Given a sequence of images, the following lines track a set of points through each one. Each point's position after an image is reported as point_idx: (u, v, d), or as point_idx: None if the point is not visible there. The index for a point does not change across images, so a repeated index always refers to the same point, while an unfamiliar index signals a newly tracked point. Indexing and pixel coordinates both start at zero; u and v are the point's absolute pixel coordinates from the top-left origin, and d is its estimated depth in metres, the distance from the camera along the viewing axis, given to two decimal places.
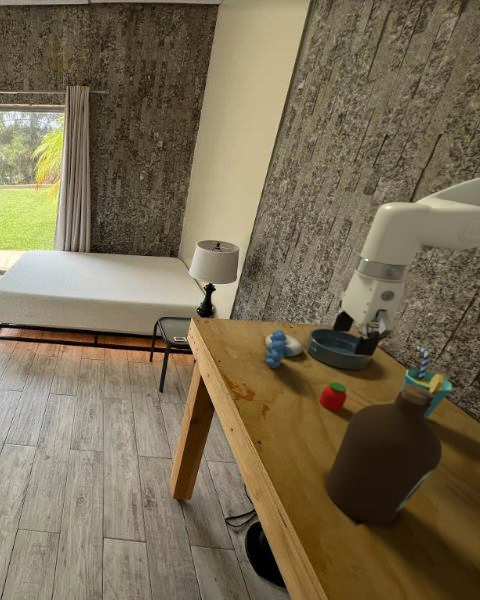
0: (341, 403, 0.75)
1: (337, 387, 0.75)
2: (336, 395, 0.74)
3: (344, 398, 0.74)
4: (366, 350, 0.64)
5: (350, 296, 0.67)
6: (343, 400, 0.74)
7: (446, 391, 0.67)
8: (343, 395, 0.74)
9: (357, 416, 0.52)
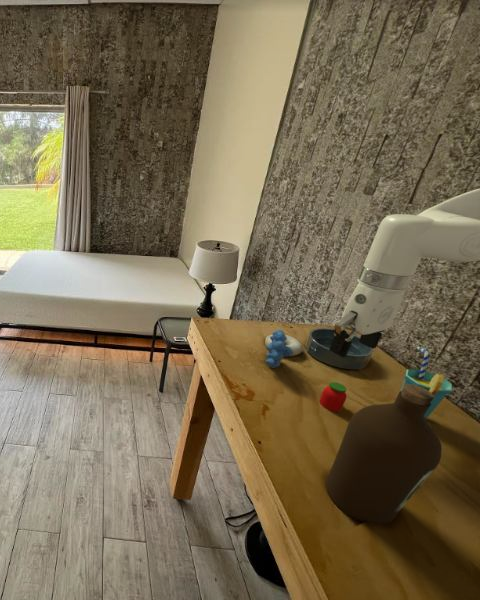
0: (341, 403, 0.75)
1: (337, 387, 0.75)
2: (336, 395, 0.74)
3: (344, 398, 0.74)
4: (335, 348, 0.69)
5: None
6: (343, 400, 0.74)
7: (446, 391, 0.67)
8: (343, 395, 0.74)
9: (357, 416, 0.52)
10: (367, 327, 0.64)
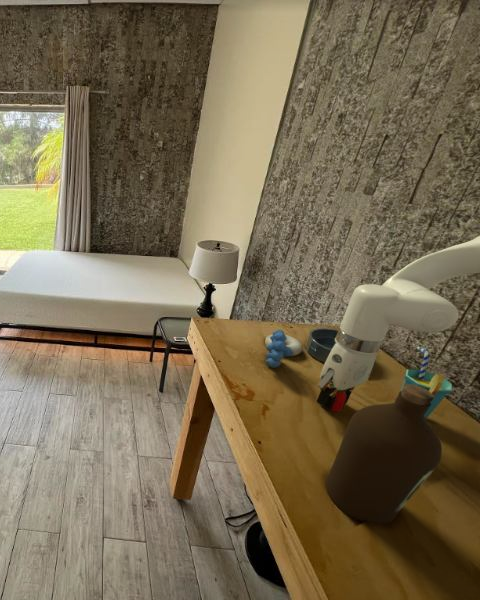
0: (341, 403, 0.75)
1: None
2: (336, 395, 0.74)
3: (344, 398, 0.74)
4: (322, 401, 0.76)
5: None
6: (343, 400, 0.74)
7: (446, 391, 0.67)
8: (343, 395, 0.74)
9: (357, 416, 0.52)
10: (343, 384, 0.70)
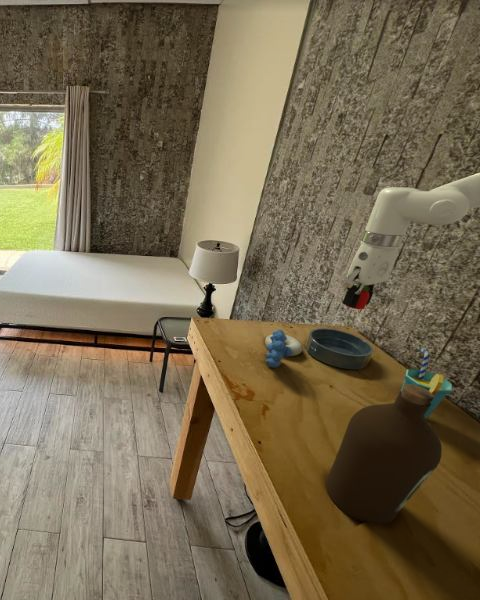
0: (364, 301, 0.85)
1: None
2: None
3: (367, 296, 0.84)
4: (347, 300, 0.86)
5: None
6: (366, 298, 0.84)
7: (446, 391, 0.67)
8: (366, 293, 0.84)
9: (357, 416, 0.52)
10: (368, 278, 0.80)
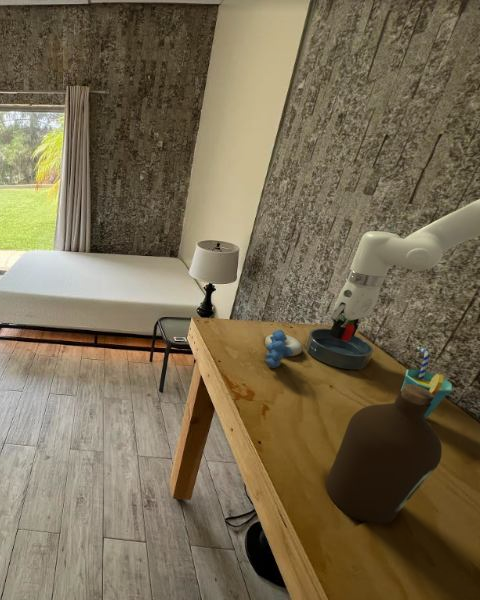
0: (350, 334, 0.91)
1: None
2: (346, 327, 0.90)
3: (352, 329, 0.90)
4: (334, 332, 0.92)
5: None
6: (351, 331, 0.90)
7: (446, 391, 0.67)
8: (351, 326, 0.90)
9: (357, 416, 0.52)
10: (353, 314, 0.86)
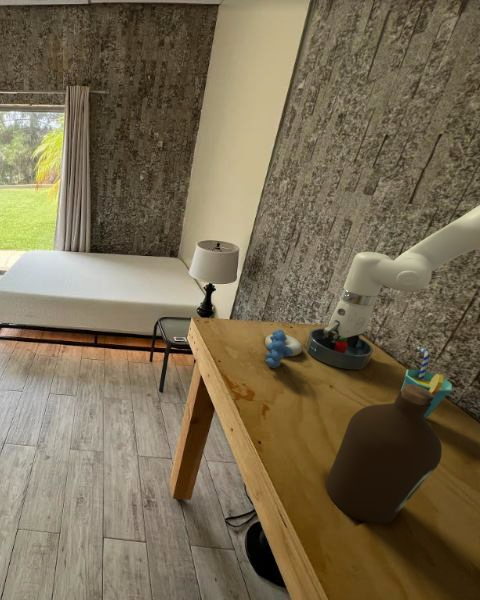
0: (343, 351, 0.93)
1: (340, 338, 0.93)
2: (339, 344, 0.93)
3: (345, 346, 0.93)
4: None
5: None
6: (345, 348, 0.93)
7: (446, 391, 0.67)
8: (345, 344, 0.93)
9: (357, 416, 0.52)
10: (347, 332, 0.88)
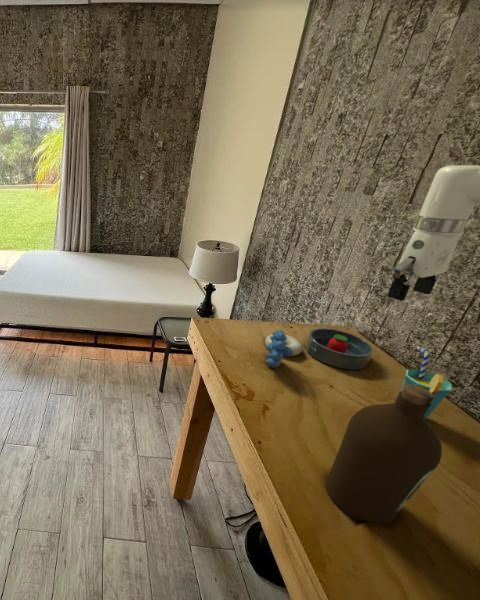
0: (343, 351, 0.93)
1: (340, 338, 0.93)
2: (339, 344, 0.93)
3: (345, 346, 0.93)
4: (394, 292, 0.75)
5: None
6: (345, 348, 0.93)
7: (446, 391, 0.67)
8: (345, 344, 0.93)
9: (357, 416, 0.52)
10: (425, 270, 0.71)
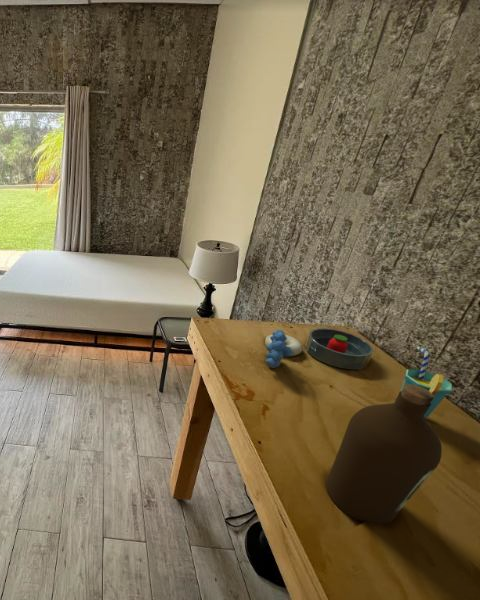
0: (343, 351, 0.93)
1: (340, 338, 0.93)
2: (339, 344, 0.93)
3: (345, 346, 0.93)
4: None
5: None
6: (345, 348, 0.93)
7: (446, 391, 0.67)
8: (345, 344, 0.93)
9: (357, 416, 0.52)
10: None
